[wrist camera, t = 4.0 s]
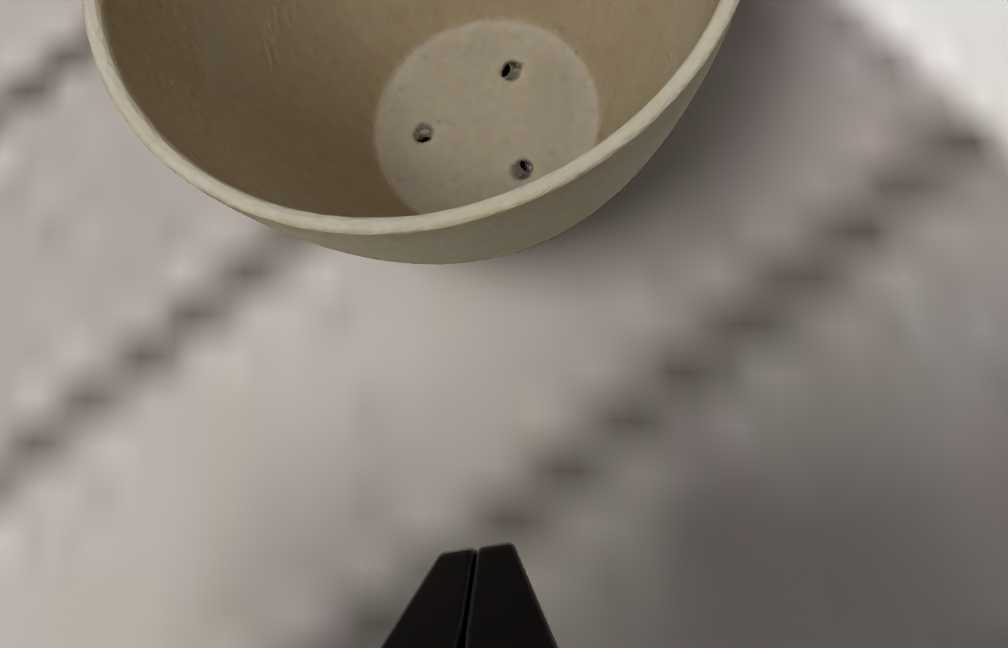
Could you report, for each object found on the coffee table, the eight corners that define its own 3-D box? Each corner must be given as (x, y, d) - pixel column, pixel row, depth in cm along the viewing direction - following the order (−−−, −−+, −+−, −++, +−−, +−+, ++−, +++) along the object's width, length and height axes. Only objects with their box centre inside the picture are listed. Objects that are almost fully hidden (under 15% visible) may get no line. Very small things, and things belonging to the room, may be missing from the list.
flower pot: (500, 449, 17) (397, 391, 10) (200, 163, 20) (-38, -33, 13) (821, 96, 18) (928, -181, 11) (485, -131, 21) (401, -464, 14)
